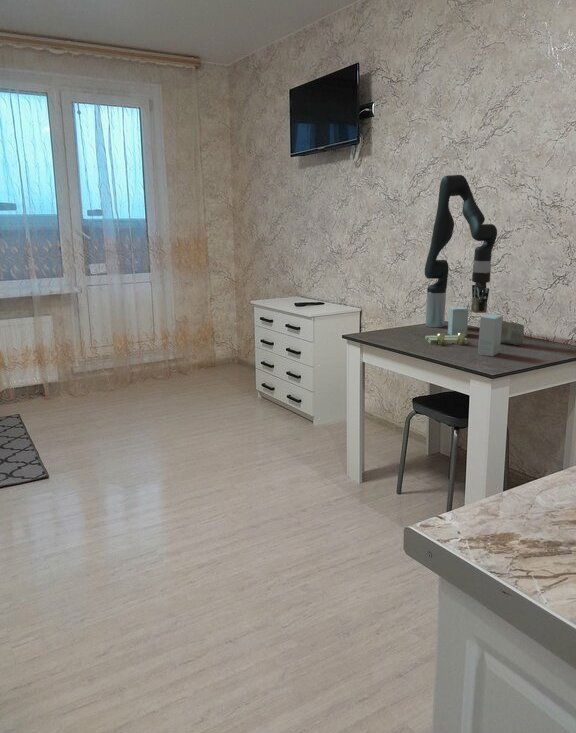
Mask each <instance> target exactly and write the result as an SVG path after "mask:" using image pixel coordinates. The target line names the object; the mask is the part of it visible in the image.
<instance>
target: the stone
mask: <svg viewBox="0 0 576 733" xmlns="http://www.w3.org/2000/svg"><path fill="white" fill-rule="evenodd" d="M524 330H525V325H523V324H521V323H517V322H510V321H506V320H502V330H501V342H500V344H501V343H502V344H510V345H513V346H519V345H522V344H523V343H524V340H525V338H524V337H525V336H524V335H525V334H524V332H525V331H524Z"/></svg>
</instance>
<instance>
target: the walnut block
mask: <svg viewBox="0 0 576 733" xmlns="http://www.w3.org/2000/svg"><path fill="white" fill-rule="evenodd" d="M470 307H471V308H470V312H473V313H475V314H481V313H482V314H483V313H484V314H485V313H486V314H487V312H488V300H487V301H486V302H485V305H484V311H479V298H472V297H471V306H470Z"/></svg>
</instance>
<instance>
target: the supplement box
mask: <svg viewBox="0 0 576 733" xmlns="http://www.w3.org/2000/svg"><path fill="white" fill-rule="evenodd" d="M468 320H469V308H467V307H464V306H463V307H462V306H459V307H458V306H457V307H455V306H451V307H450V306H449V308H448V324H447V335H458V333H465V337H467V336H468V323H469V321H468Z"/></svg>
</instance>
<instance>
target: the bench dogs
mask: <svg viewBox="0 0 576 733" xmlns="http://www.w3.org/2000/svg"><path fill="white" fill-rule="evenodd" d="M445 335H446V334H445V332H437V344H436V346H438V345H444V346H445V344H444V339H445ZM465 338H466V336H465V333H458V341H457V344H458V345H457V344H456V345H457V346H465V345H466V344H465Z"/></svg>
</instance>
